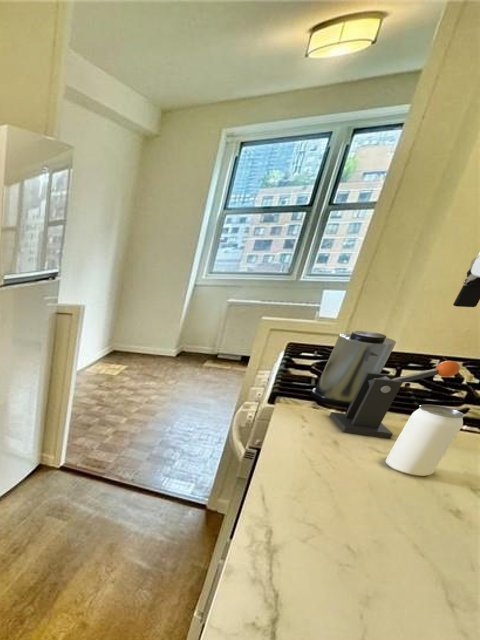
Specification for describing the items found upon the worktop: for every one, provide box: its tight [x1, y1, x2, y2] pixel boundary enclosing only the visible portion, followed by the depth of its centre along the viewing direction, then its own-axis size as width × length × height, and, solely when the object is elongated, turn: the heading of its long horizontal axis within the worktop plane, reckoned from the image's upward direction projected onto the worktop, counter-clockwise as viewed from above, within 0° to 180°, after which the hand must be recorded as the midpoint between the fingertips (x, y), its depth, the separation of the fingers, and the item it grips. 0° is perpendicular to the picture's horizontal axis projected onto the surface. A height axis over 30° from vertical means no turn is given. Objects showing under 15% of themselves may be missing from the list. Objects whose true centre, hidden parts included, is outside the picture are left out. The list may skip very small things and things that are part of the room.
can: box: [385, 404, 466, 477], centre depth 89 cm, size 6×6×12 cm
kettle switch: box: [368, 360, 461, 387], centre depth 100 cm, size 13×3×3 cm, turn 64°
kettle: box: [309, 330, 397, 409], centre depth 117 cm, size 11×14×17 cm
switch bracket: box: [328, 372, 404, 439], centre depth 105 cm, size 8×9×12 cm
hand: (478, 311), depth 92 cm, fingers open, 9 cm apart
